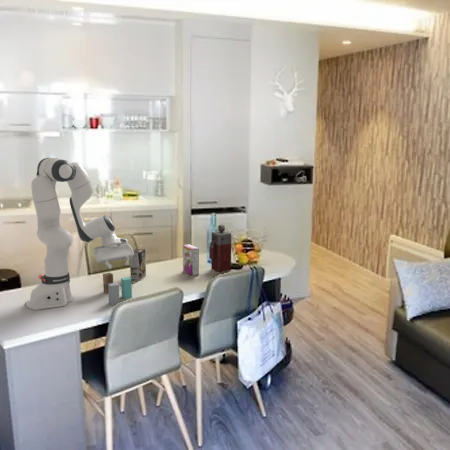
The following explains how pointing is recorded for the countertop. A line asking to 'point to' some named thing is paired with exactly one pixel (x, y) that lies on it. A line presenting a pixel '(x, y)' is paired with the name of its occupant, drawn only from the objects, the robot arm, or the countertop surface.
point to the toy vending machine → (220, 250)
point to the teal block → (126, 287)
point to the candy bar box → (191, 259)
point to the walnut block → (107, 281)
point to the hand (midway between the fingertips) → (119, 266)
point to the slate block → (113, 293)
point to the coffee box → (138, 264)
